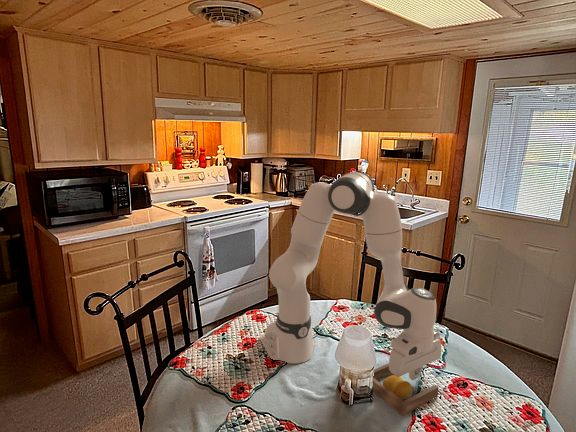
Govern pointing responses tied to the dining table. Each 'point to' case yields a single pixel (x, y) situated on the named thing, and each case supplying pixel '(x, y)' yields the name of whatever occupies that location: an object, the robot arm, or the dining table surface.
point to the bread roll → (398, 386)
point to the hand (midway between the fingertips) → (414, 377)
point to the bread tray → (395, 401)
